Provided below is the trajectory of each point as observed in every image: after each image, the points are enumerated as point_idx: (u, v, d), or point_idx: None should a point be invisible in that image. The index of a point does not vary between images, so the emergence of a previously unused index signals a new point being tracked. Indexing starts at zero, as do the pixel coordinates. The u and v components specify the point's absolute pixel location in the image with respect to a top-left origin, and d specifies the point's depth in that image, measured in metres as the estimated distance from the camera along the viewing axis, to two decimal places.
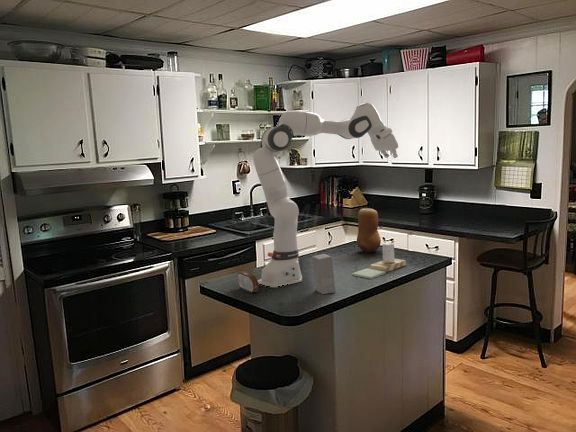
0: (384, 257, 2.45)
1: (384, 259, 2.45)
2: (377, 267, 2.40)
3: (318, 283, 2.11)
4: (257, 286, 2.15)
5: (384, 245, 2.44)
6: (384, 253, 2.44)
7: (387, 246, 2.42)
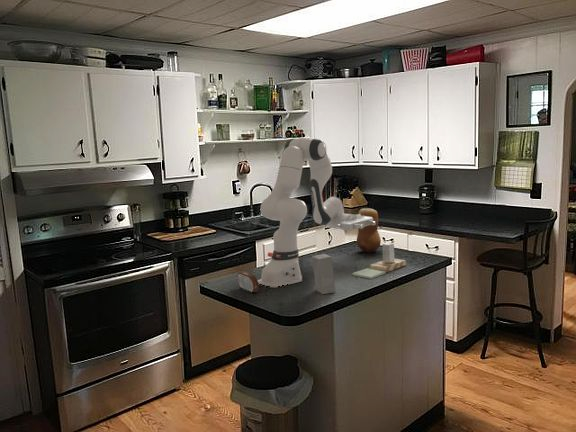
0: (384, 257, 2.45)
1: (384, 259, 2.45)
2: (377, 267, 2.40)
3: (318, 283, 2.11)
4: (257, 286, 2.15)
5: (384, 245, 2.44)
6: (384, 253, 2.44)
7: (387, 246, 2.42)
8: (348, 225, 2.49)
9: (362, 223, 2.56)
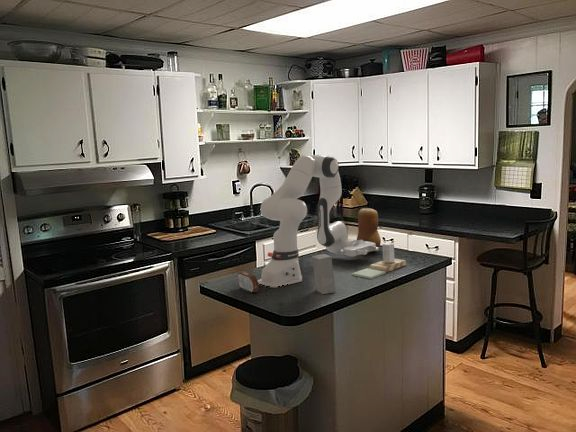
0: (384, 257, 2.45)
1: (384, 259, 2.45)
2: (377, 267, 2.40)
3: (318, 283, 2.11)
4: (257, 286, 2.15)
5: (384, 245, 2.44)
6: (384, 253, 2.44)
7: (387, 246, 2.42)
8: (352, 251, 2.50)
9: (365, 249, 2.57)
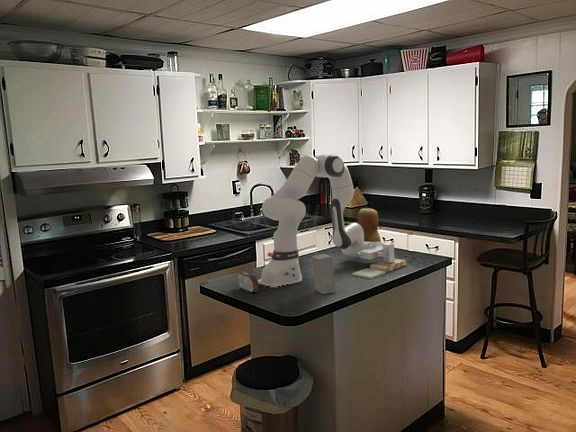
0: (384, 257, 2.45)
1: (384, 259, 2.45)
2: (377, 267, 2.40)
3: (318, 283, 2.11)
4: (257, 286, 2.15)
5: (384, 245, 2.44)
6: None
7: (387, 246, 2.42)
8: (369, 254, 2.42)
9: (382, 251, 2.49)
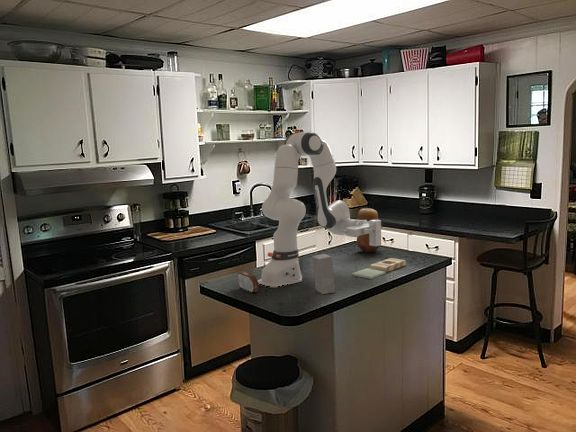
0: (370, 234, 2.36)
1: (370, 236, 2.36)
2: (377, 267, 2.40)
3: (318, 283, 2.11)
4: (257, 286, 2.15)
5: (371, 222, 2.35)
6: None
7: (374, 223, 2.34)
8: (355, 230, 2.33)
9: None
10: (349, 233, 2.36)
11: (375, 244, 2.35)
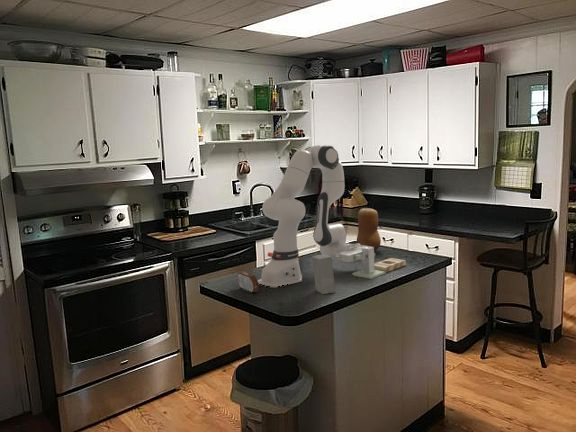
0: (363, 262, 2.34)
1: (363, 264, 2.34)
2: (377, 267, 2.40)
3: (318, 283, 2.11)
4: (257, 286, 2.15)
5: (363, 249, 2.33)
6: None
7: (366, 250, 2.32)
8: (348, 256, 2.31)
9: None
10: (342, 259, 2.33)
11: (368, 271, 2.33)
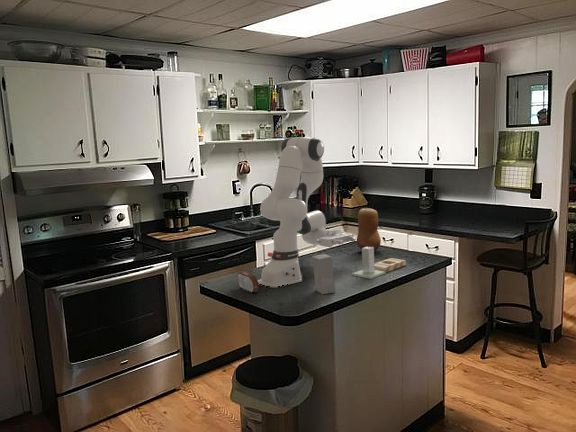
0: (363, 262, 2.34)
1: (363, 264, 2.34)
2: (377, 267, 2.40)
3: (318, 283, 2.11)
4: (257, 286, 2.15)
5: (363, 249, 2.33)
6: (363, 258, 2.33)
7: (366, 250, 2.32)
8: (327, 240, 2.40)
9: (342, 239, 2.48)
10: (322, 243, 2.43)
11: (368, 271, 2.33)
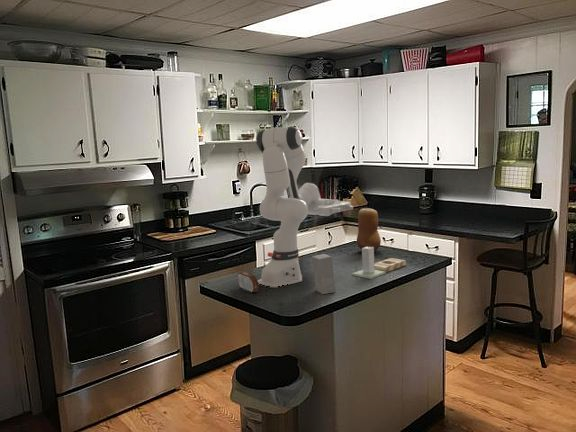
0: (363, 262, 2.34)
1: (363, 264, 2.34)
2: (377, 267, 2.40)
3: (318, 283, 2.11)
4: (257, 286, 2.15)
5: (363, 249, 2.33)
6: (363, 258, 2.33)
7: (366, 250, 2.32)
8: (325, 209, 2.43)
9: (339, 208, 2.50)
10: (320, 212, 2.45)
11: (368, 271, 2.33)
